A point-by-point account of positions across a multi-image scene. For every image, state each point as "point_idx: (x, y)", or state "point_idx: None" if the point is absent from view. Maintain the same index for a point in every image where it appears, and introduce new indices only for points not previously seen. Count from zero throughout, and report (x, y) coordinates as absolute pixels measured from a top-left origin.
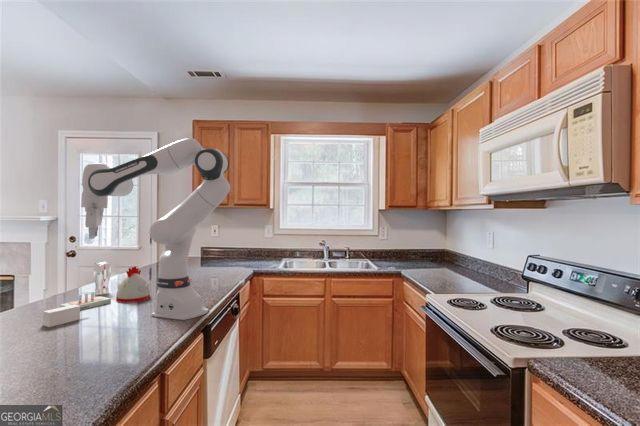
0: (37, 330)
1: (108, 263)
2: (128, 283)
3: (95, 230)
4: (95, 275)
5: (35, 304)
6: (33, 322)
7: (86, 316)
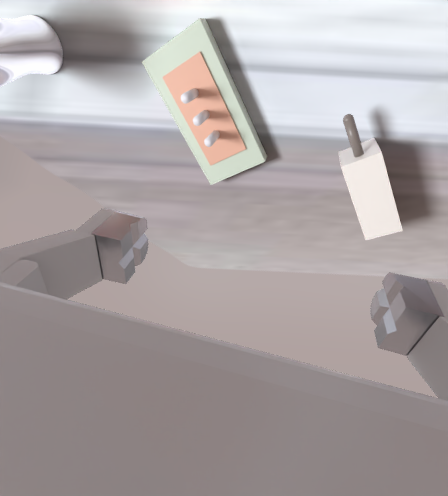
0: None
1: None
2: None
3: (73, 264)
4: (2, 83)
5: None
6: (314, 233)
7: None
